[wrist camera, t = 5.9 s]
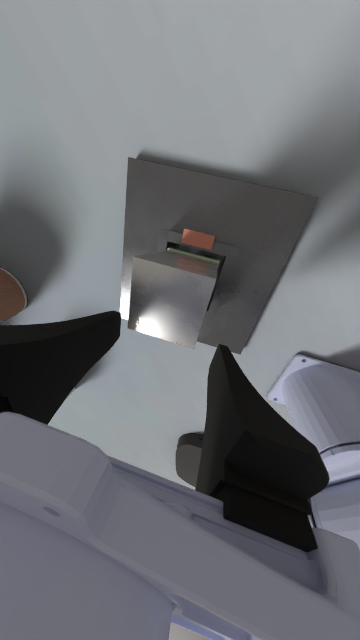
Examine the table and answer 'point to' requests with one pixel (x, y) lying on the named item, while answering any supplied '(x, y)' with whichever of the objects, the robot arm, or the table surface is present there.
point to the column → (171, 294)
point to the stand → (214, 238)
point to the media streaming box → (189, 457)
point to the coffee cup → (10, 296)
